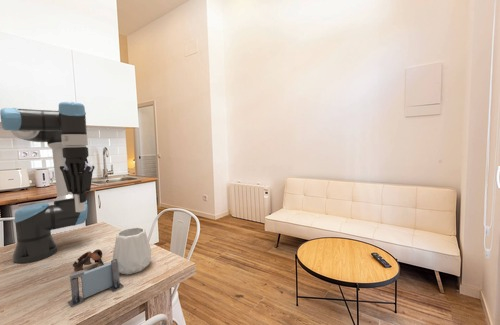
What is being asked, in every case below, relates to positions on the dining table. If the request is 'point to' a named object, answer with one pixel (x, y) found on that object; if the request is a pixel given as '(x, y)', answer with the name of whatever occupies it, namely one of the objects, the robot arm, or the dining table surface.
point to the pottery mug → (88, 259)
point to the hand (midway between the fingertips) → (80, 210)
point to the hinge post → (75, 293)
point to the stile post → (115, 276)
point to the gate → (95, 279)
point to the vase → (132, 250)
